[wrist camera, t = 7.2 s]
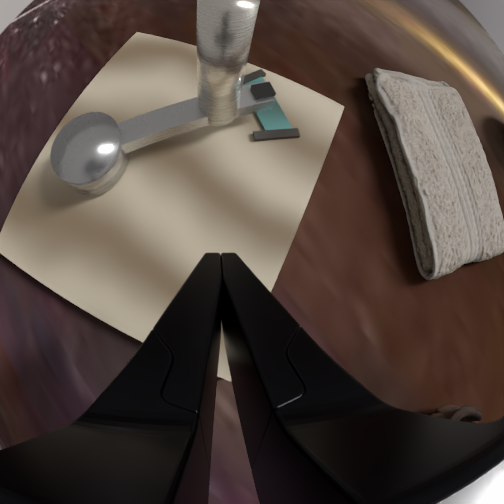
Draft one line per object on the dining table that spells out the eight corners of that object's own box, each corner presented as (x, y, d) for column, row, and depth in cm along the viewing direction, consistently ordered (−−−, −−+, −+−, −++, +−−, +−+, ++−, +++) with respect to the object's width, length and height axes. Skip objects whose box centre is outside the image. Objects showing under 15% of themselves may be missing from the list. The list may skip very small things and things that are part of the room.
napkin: (229, 377, 17) (231, 383, 16) (2, 250, 16) (-8, 247, 14) (339, 113, 21) (346, 104, 19) (138, 39, 19) (136, 29, 18)
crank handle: (72, 206, 16) (-24, 132, 6) (62, 148, 16) (-10, 58, 7) (279, 133, 18) (331, 20, 9) (253, 83, 18) (283, -30, 9)
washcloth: (441, 92, 24) (457, 78, 21) (495, 255, 22) (518, 251, 19) (352, 78, 22) (366, 57, 19) (414, 283, 20) (441, 280, 17)
